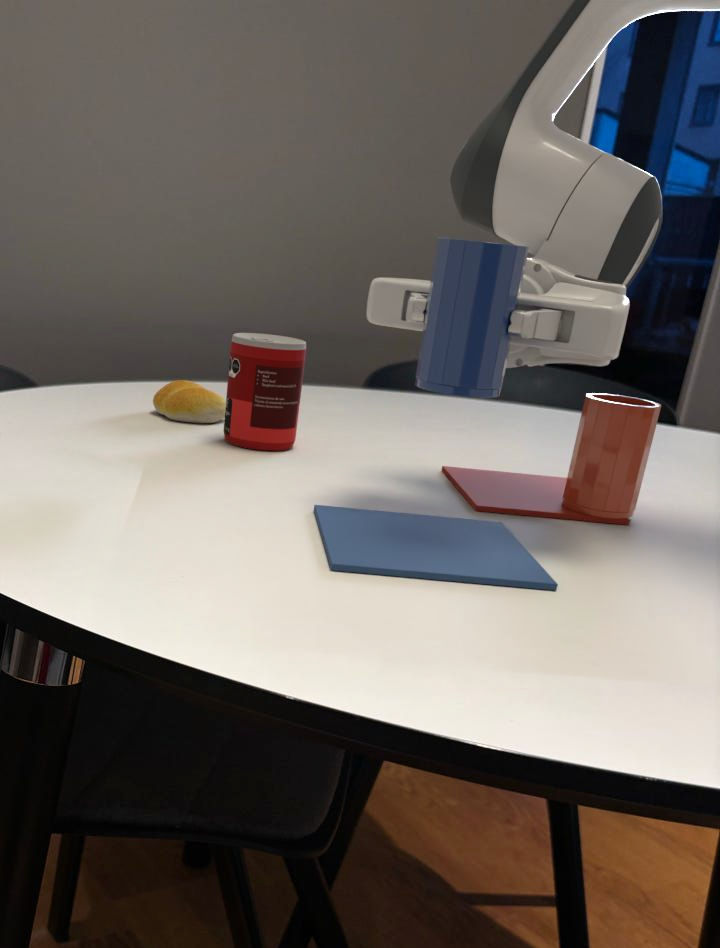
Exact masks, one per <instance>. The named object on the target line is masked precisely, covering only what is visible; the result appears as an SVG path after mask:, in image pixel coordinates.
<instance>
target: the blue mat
mask: <svg viewBox="0 0 720 948" xmlns="http://www.w3.org/2000/svg"><path fill="white" fill-rule="evenodd" d="M313 512H314V515H315V519H316V522H317V526H318V529H319V533H320V536H321V539H322V544H323V547H324V551H325V553H326V557H327V560H328V563H329V567H330V570H331V571H334V572H344V573H345V572H346V573H356V574H357V573H358V574H369V575H380V576H389V577H391V576H392V577H402V578H403V577H404V578H413V579H424V580H435V581H436V580H437V581H447V582H456V583H457V582H459V583H469V584H481V585H491V586H501V587H502V586H503V587H512V588H524V589H535V590H545V591H546V590H547V591H557V589H558V583H557V581H555V579H554V578H553V577H552V576H551V575H550V574H549V573H548V572H547V570H545V568H544V567H543V566H542V565H541V564H540V563H539V562H538V561H537V560H536V558H535V557H534V556H533V555H532V554H531V553H530V552H529V551H528V550H527V548H526V547H525V546H524V545H523V544H522V543H521V542H520V541H519V540H518V538H516V536H515V535H514V534H513V533H512V532H511V531H510V530H509V529H508V527H506V525H505V524H504V523H503V522H502V521H495V520H484V519H483V520H482V519H475V518H474V519H473V518H465V517H464V518H463V517H452V516H451V517H450V516H443V515H430V514H429V515H428V514H421V513H409V512H399V511H387V510H377V509H366V508H356V507H354V508H353V507H346V506H345V507H343V506H335V505H334V506H333V505H322V504H314V506H313Z"/></svg>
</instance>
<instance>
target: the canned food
mask: <svg viewBox="0 0 720 948" xmlns="http://www.w3.org/2000/svg"><path fill="white" fill-rule="evenodd" d="M306 353H307V342H306V341H305V340H303V339H300V338H295V337H290V336H284V335H277V334H269V333H268V334H267V333H258V332H257V333H256V332H236V333H233V334H232V337H231V342H230V351H229V362H228V372H227V373H228V374H227V385H226V386H227V387H226V397H225V402H226V408H225V418H224V419H223V420H224V422H223V436H224V440H225V441H226V442H227V443H228V444H230V445H233V446H234V447H235V446H236V447H238V448H243V449H249V450H256V451H263V452H264V451H265V452H282V451H288V450H290V449H292V448H293V447H294V445H295V442H296V439H297V429H298V422H299V414H300V412H299V411H300V405H301V398H302V397H301V396H302V389H303V380H304V372H305V363H306Z"/></svg>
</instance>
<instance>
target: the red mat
mask: <svg viewBox="0 0 720 948" xmlns="http://www.w3.org/2000/svg"><path fill="white" fill-rule="evenodd" d="M441 472H442V473H443V474H444V475H445V476H446V477H447V479H448V480H449V481H450V482H451V483H452V484H453V486H454V487H455V488H456V489H457V490H458V492H459V493H460V494H461V496H463V497H464V499H465V500H466V502H467V503H469V504H470V505H471V507H472V508H473V509H474V511H476V512H485V513H496V514H507V515H517V516H528V517H537V518H538V517H539V518H550V519H557V520H558V519H560V520H570V521H580V522H581V521H582V522H591V523H602V524H612V525H624V526H629V525H630V522H631V519H630V518H625V519H612V518H603V517H596V516H591V515H586V514H582V513H579V512H576V511H573V510H570V509H568V508H566V507H565V506H563V504H562V501H563V495H564V490H565V486H566V481H567V477H563V476H552V475H543V474H532V473H531V474H530V473H521V472H520V473H519V472H512V471H502V470H501V471H499V470H491V469H490V470H489V469H478V468H469V467H457V466H447V465H446V466H445V465H442V466H441Z"/></svg>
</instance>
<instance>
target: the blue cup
mask: <svg viewBox="0 0 720 948" xmlns="http://www.w3.org/2000/svg"><path fill="white" fill-rule="evenodd" d="M528 249H529V247H528V246H519V245H514V244H509V243H499V242H489V241H479V240H471V239H462V238H460V239H459V238H451V237H439V236H438V237H437V239H436V245H435V251H434V258H433V264H432V270H431V276H430V281H431V282H430V289H429V295H428V301H427V307H426V314H425V320H424V326H423V331H422V334H421V340H420V347H419V352H418V357H417V358H418V359H417V365H416V371H415V382H414V385H415V386H416V387H417V388H419V389H422V390H425V391H430V392H434V393H440V394H444V395H452V396H457V397H458V396H459V397H469V398H483V399H485V398H486V399H487V398H489V399H491V398H497V397H500V395H501V391H502V387H503V386H504V385H503V384H504V380H505V374H506V369H507V368H506V364H507V359H508V354H509V348H510V343H511V338H512V336H509V335H508V328H509V326H510V325H511V321H510V317H511V314H512V311H513V310H517V307H518V302H519V296H520V291H521V286H522V281H523V275H524V270H525V265H526V260H527V258H528V256H529V255H528V254H529V252H528Z"/></svg>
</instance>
